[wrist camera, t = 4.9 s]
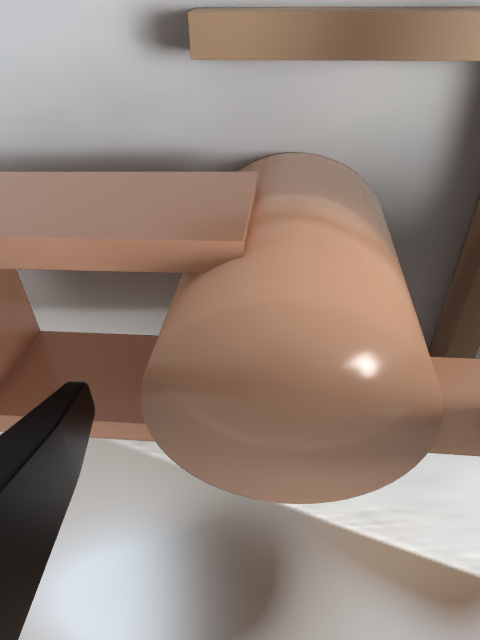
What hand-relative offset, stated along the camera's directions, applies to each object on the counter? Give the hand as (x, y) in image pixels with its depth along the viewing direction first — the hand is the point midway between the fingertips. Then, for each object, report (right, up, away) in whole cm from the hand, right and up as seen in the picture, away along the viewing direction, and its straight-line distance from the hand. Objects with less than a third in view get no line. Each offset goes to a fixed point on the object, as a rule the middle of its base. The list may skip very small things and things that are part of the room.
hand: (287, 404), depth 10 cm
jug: (-2, +5, +6) cm, 8 cm away
